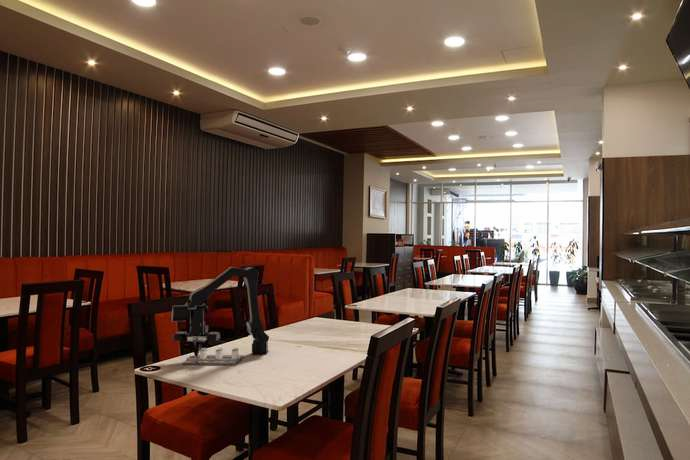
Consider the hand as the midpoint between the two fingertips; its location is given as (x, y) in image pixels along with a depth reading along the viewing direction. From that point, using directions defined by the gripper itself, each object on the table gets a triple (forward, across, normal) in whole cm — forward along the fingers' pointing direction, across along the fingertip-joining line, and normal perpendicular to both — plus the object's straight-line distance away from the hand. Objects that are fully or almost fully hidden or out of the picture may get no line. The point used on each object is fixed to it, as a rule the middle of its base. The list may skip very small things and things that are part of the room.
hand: (196, 356), depth 199 cm
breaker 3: (+2, -17, 0) cm, 17 cm away
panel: (+2, -8, 0) cm, 8 cm away
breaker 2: (+2, -10, 0) cm, 10 cm away
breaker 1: (+2, -3, 0) cm, 3 cm away
